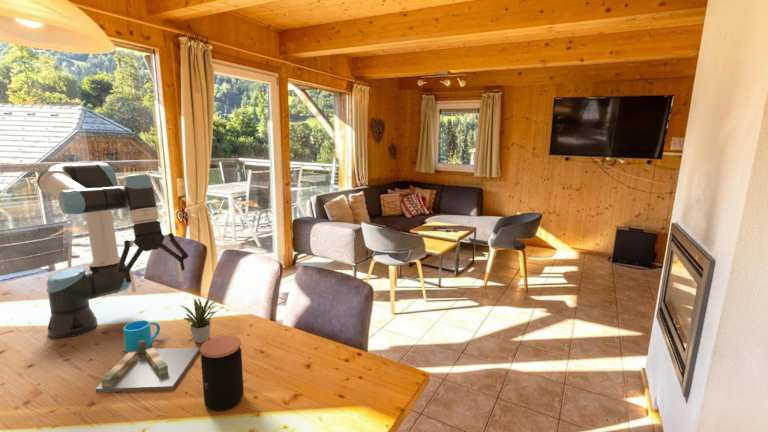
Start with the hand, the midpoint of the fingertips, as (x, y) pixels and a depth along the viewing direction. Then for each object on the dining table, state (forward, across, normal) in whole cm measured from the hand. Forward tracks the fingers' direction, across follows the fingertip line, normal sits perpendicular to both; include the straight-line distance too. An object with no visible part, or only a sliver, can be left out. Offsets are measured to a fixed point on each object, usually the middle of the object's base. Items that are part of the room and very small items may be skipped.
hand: (158, 286), depth 125 cm
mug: (+22, -4, +24) cm, 34 cm away
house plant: (+26, +14, +14) cm, 33 cm away
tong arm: (+26, -4, +5) cm, 26 cm away
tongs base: (+25, -11, +9) cm, 28 cm away
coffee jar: (+35, +7, -24) cm, 43 cm away
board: (+27, -6, +5) cm, 28 cm away
